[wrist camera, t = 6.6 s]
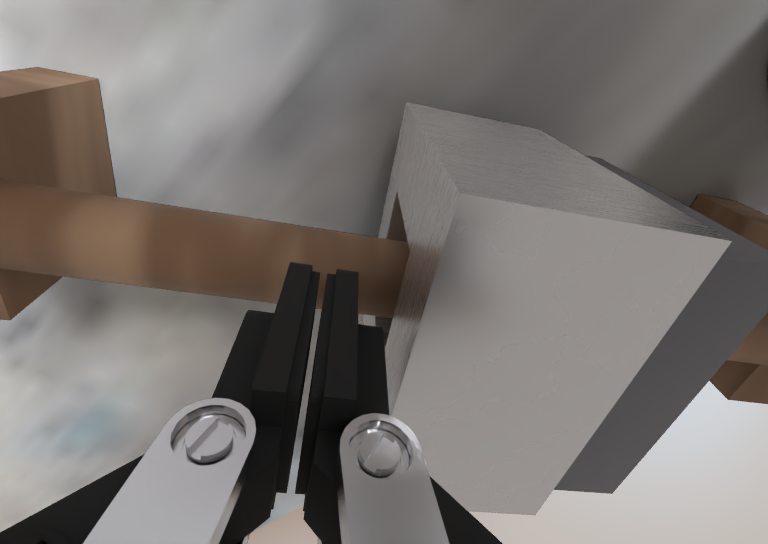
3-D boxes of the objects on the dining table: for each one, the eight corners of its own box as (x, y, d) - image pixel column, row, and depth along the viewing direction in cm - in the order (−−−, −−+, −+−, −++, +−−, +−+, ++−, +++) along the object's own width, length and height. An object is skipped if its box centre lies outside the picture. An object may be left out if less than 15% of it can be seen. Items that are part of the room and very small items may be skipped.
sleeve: (363, 307, 19) (364, 505, 11) (406, 101, 14) (459, 193, 6) (466, 320, 19) (535, 515, 12) (538, 129, 15) (732, 241, 7)
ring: (471, 318, 19) (535, 488, 12) (538, 146, 14) (695, 252, 8) (521, 325, 19) (611, 493, 12) (600, 158, 15) (803, 270, 8)
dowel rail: (71, 220, 17) (-93, 329, 11) (37, 67, 14) (-216, 98, 8) (664, 306, 21) (790, 421, 15) (737, 201, 18) (931, 291, 12)
